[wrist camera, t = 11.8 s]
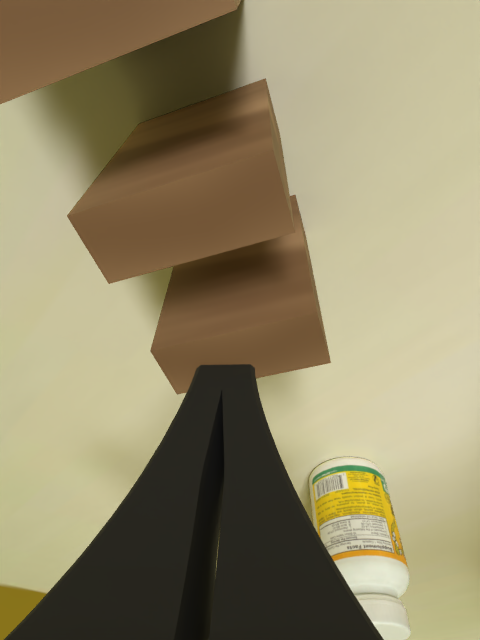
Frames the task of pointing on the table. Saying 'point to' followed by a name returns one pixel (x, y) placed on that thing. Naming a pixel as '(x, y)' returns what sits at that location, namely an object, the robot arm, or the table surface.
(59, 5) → the domino
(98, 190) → the domino
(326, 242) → the table surface
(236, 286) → the domino
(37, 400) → the table surface
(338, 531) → the supplement bottle
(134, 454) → the table surface
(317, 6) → the table surface
